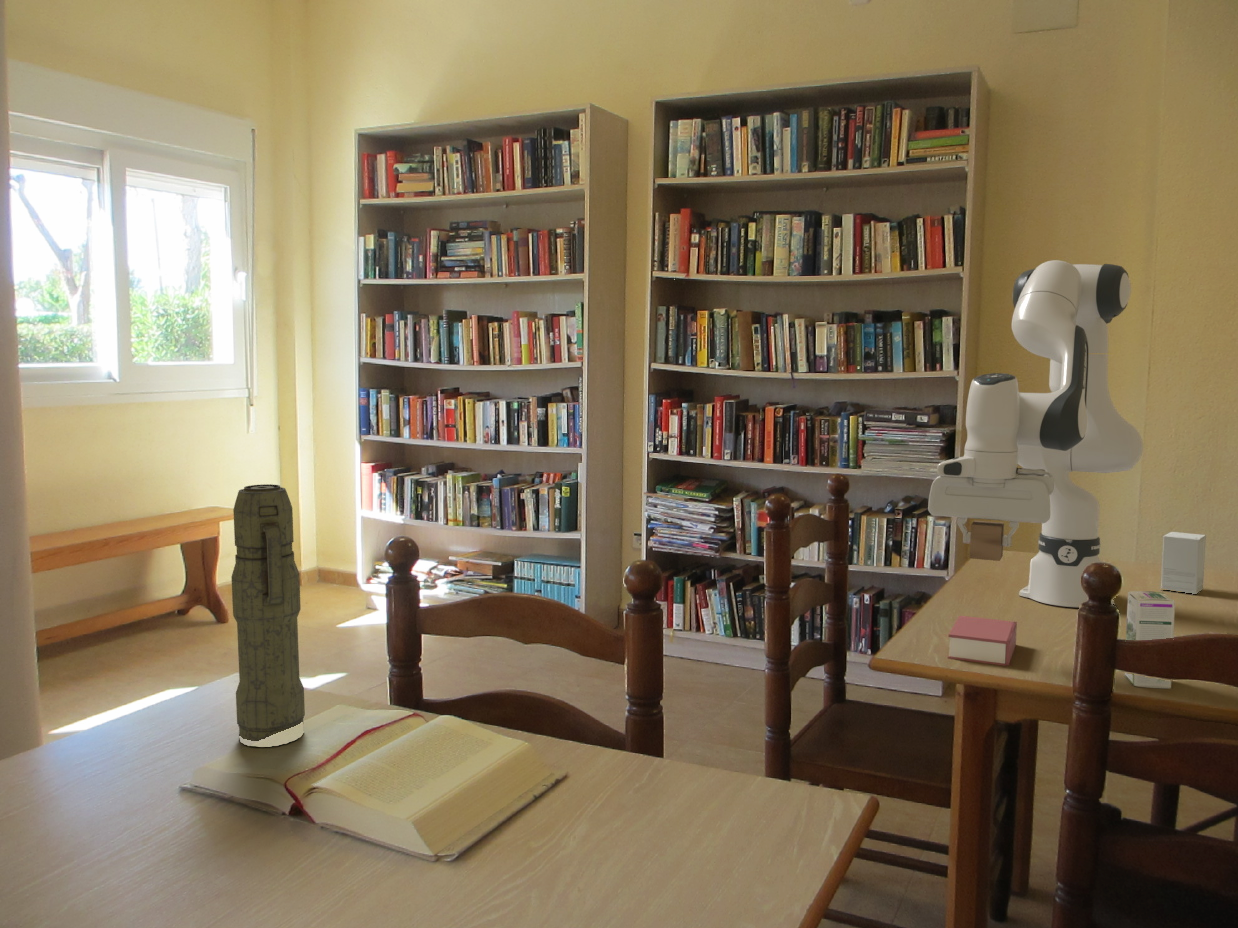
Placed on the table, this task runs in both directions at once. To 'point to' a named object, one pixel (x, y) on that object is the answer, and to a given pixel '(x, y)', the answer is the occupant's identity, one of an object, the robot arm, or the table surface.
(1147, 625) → the syrup box
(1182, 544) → the supplement box
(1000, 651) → the book
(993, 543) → the walnut block
